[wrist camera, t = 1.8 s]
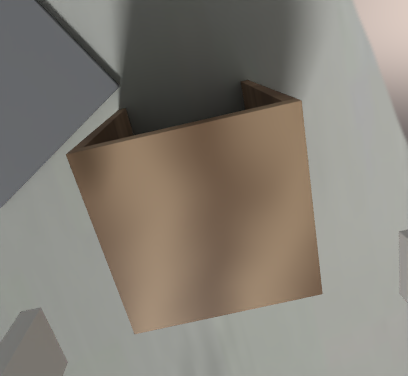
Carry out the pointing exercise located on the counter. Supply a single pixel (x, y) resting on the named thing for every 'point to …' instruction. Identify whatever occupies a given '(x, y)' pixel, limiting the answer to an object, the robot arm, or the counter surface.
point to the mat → (41, 90)
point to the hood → (204, 211)
